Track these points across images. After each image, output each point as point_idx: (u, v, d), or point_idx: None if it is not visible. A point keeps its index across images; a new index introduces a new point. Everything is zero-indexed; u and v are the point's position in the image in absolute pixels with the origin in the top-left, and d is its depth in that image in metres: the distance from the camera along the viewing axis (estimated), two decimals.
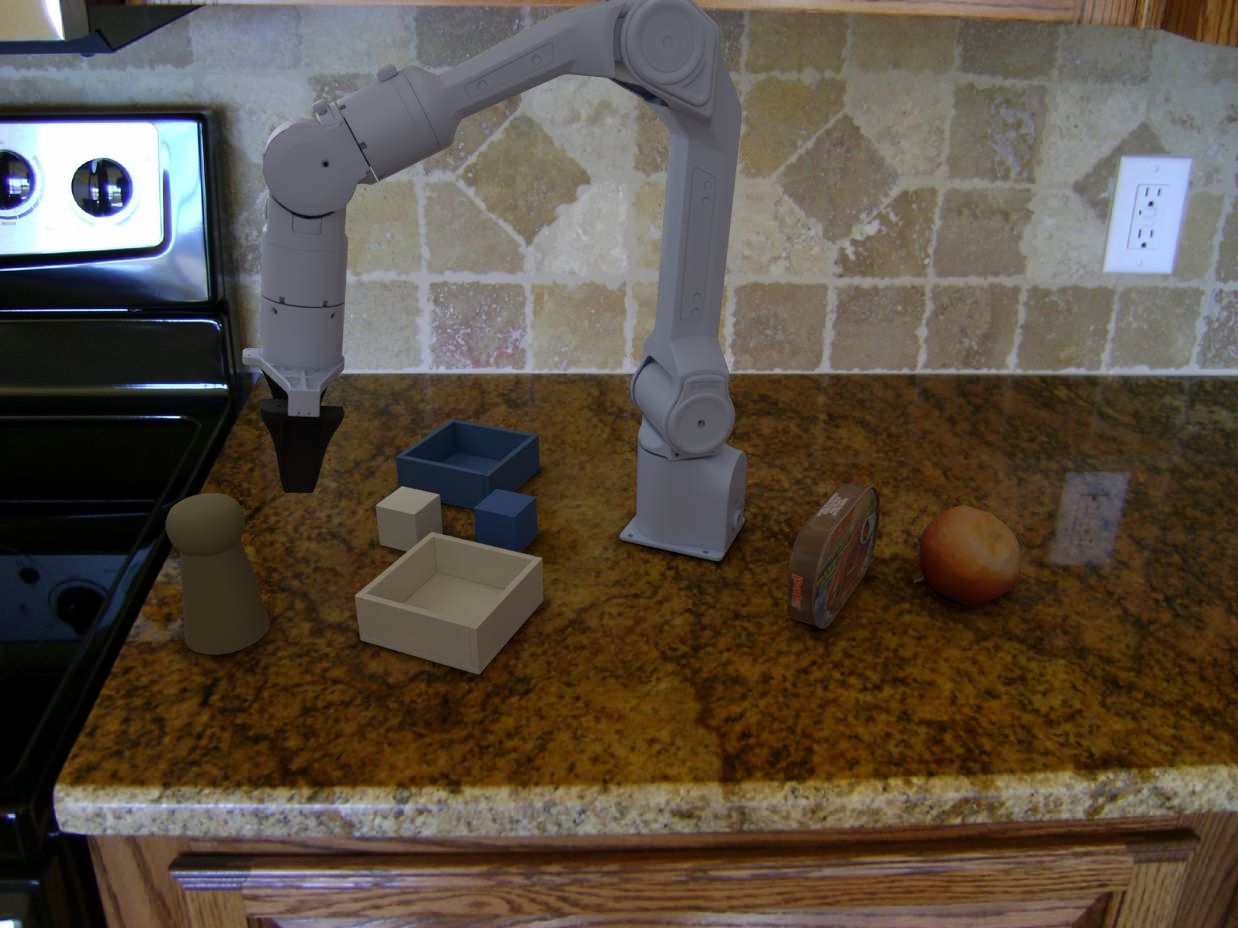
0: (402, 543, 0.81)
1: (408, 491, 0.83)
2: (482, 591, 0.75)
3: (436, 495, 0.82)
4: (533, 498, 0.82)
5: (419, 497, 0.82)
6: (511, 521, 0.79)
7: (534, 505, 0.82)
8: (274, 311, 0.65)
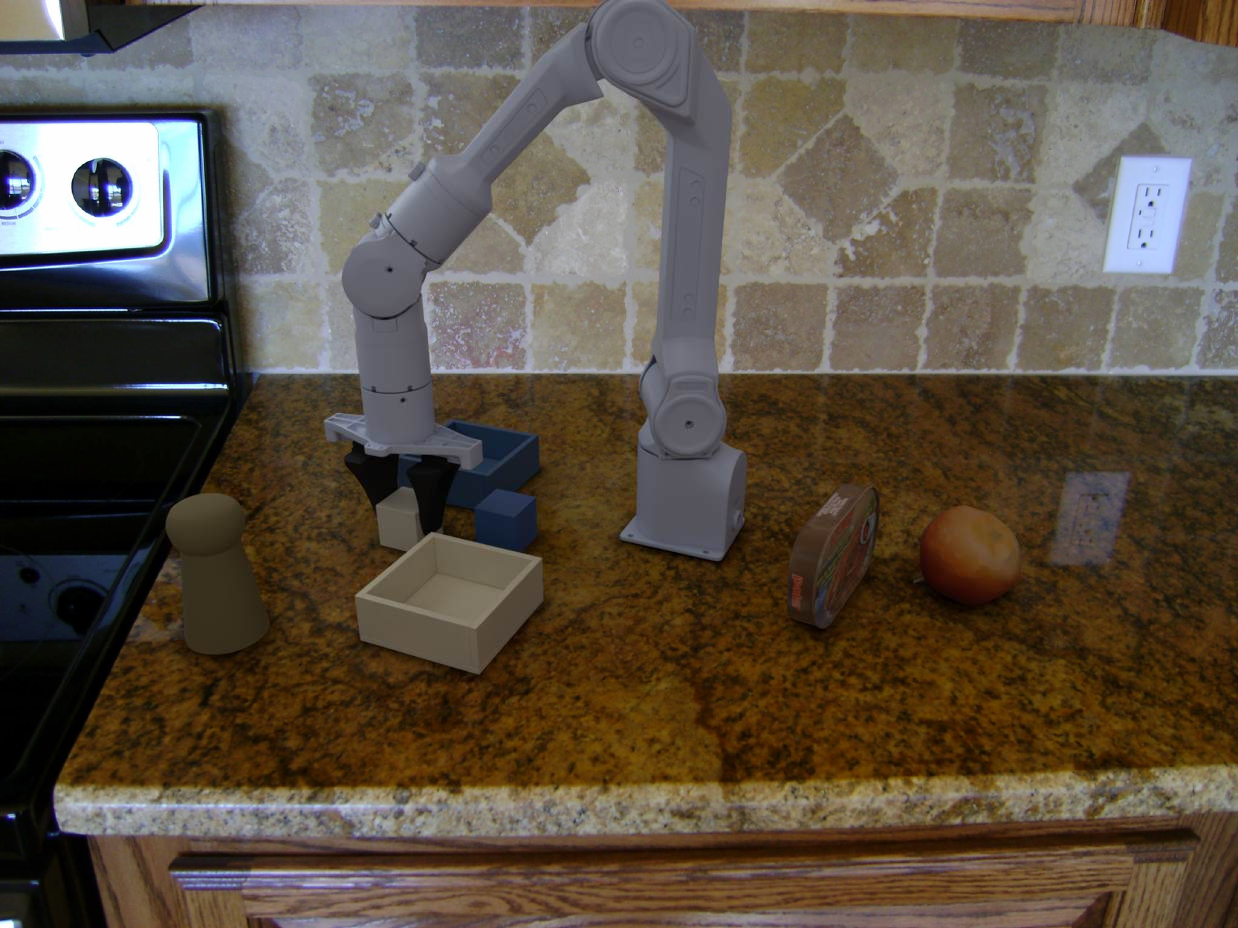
0: (402, 543, 0.81)
1: (408, 491, 0.83)
2: (482, 591, 0.75)
3: None
4: (533, 498, 0.82)
5: None
6: (511, 521, 0.79)
7: (534, 505, 0.82)
8: (401, 400, 0.75)
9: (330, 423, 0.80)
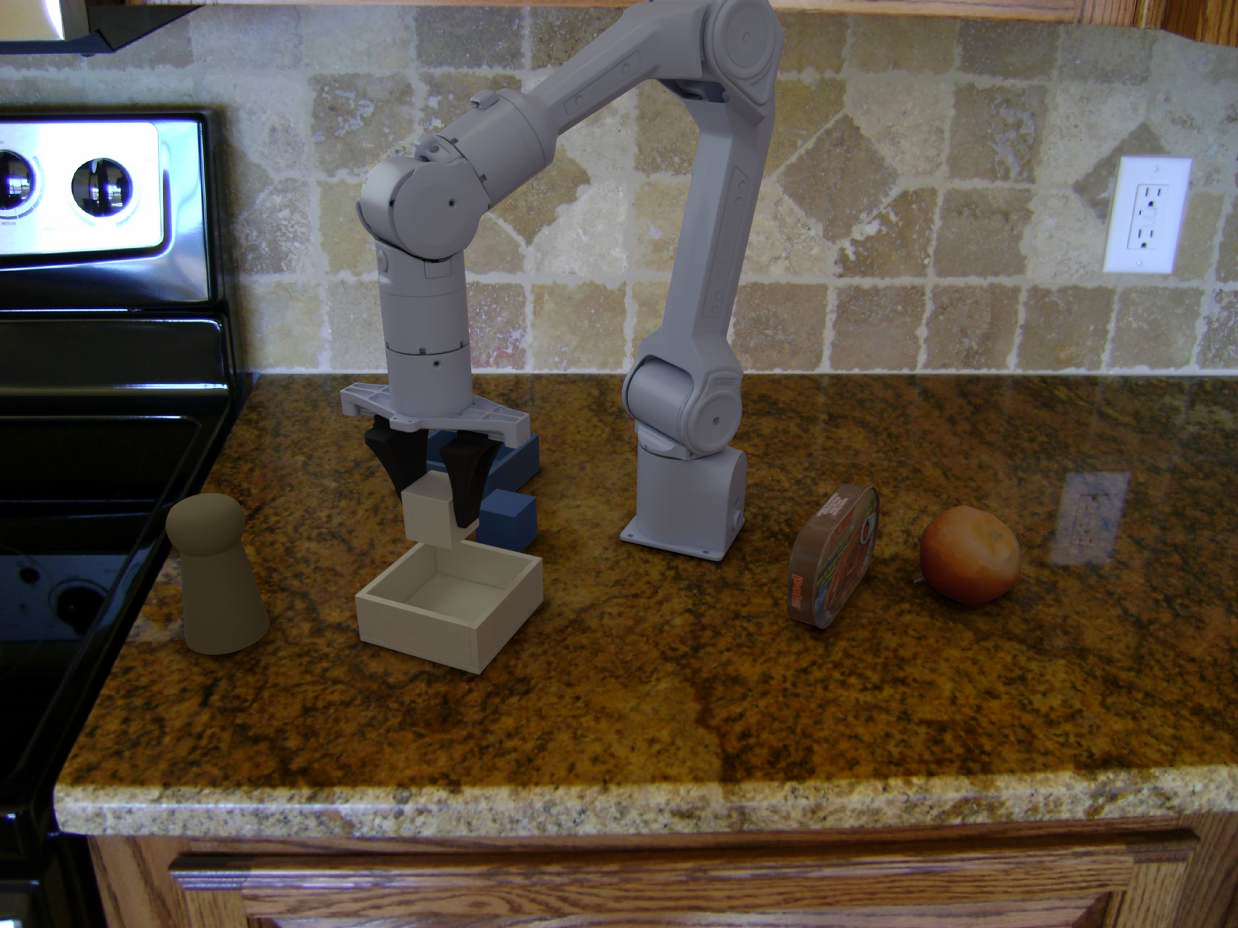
0: (432, 537, 0.68)
1: (438, 475, 0.70)
2: (482, 591, 0.75)
3: None
4: (533, 498, 0.82)
5: None
6: (511, 521, 0.79)
7: (534, 505, 0.82)
8: (434, 364, 0.62)
9: (348, 394, 0.67)
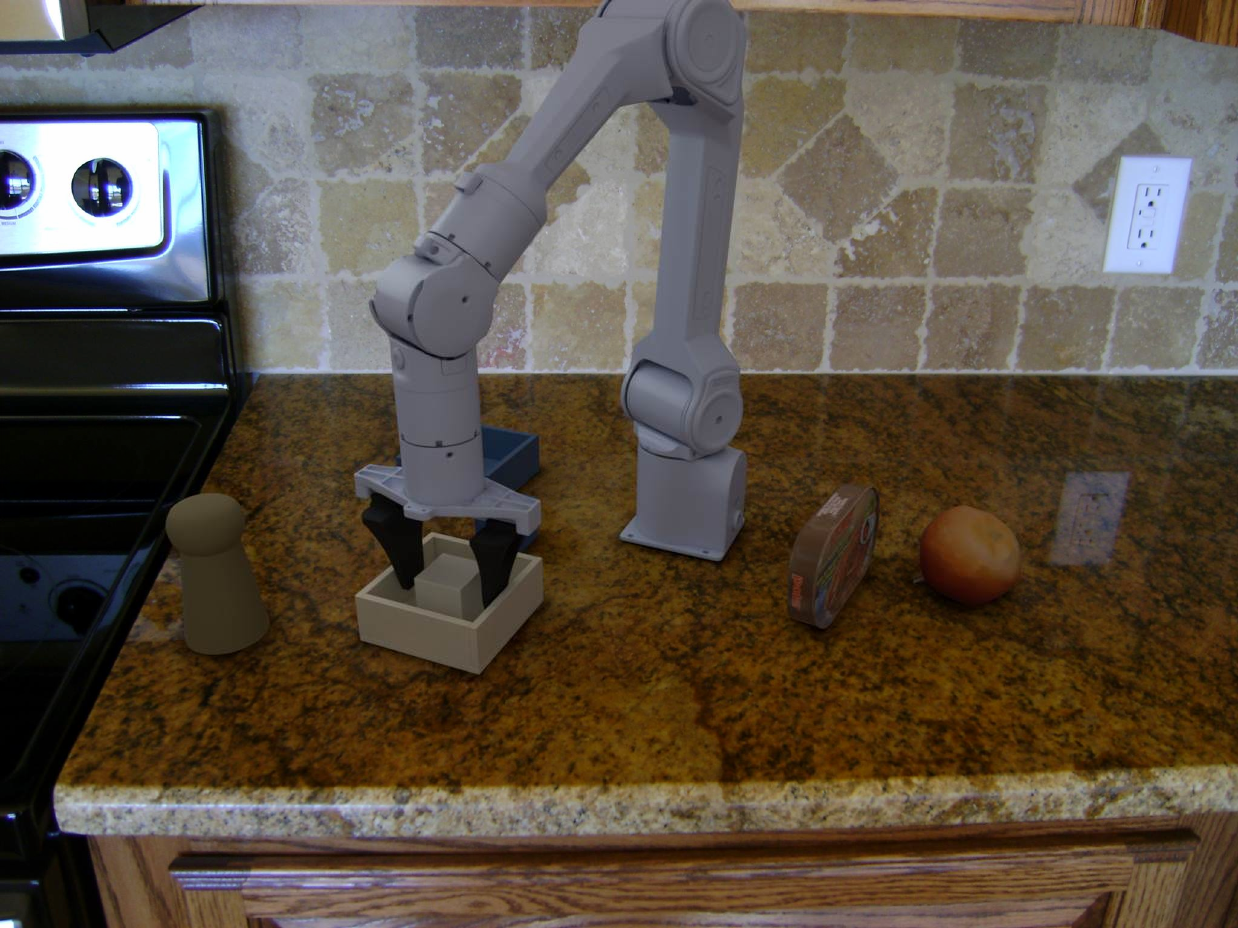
0: None
1: (450, 559, 0.72)
2: None
3: None
4: None
5: (464, 567, 0.71)
6: None
7: None
8: (447, 455, 0.63)
9: (361, 477, 0.69)
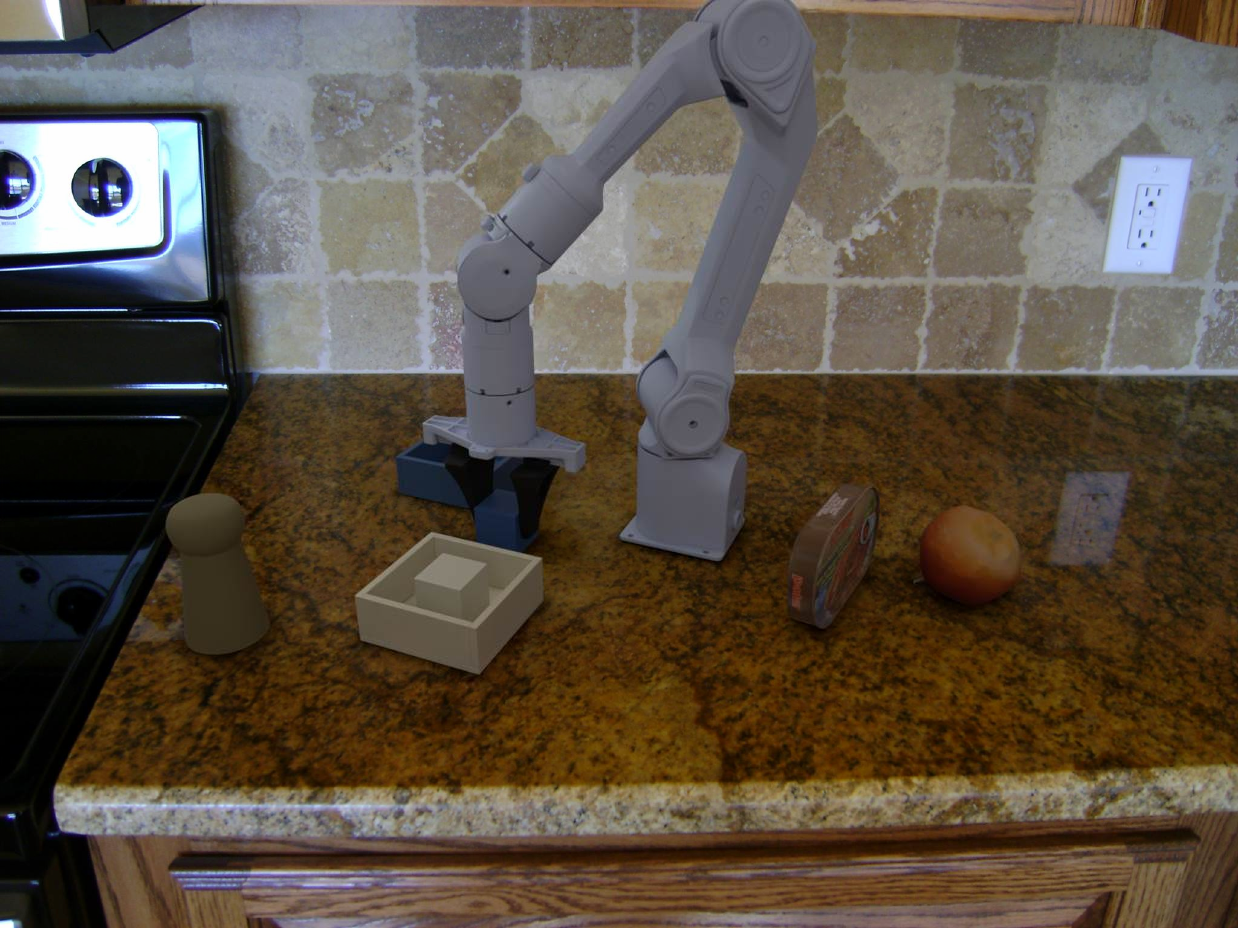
0: None
1: (450, 559, 0.72)
2: None
3: (483, 565, 0.71)
4: None
5: (464, 567, 0.71)
6: (511, 521, 0.79)
7: None
8: (507, 403, 0.74)
9: (429, 425, 0.80)
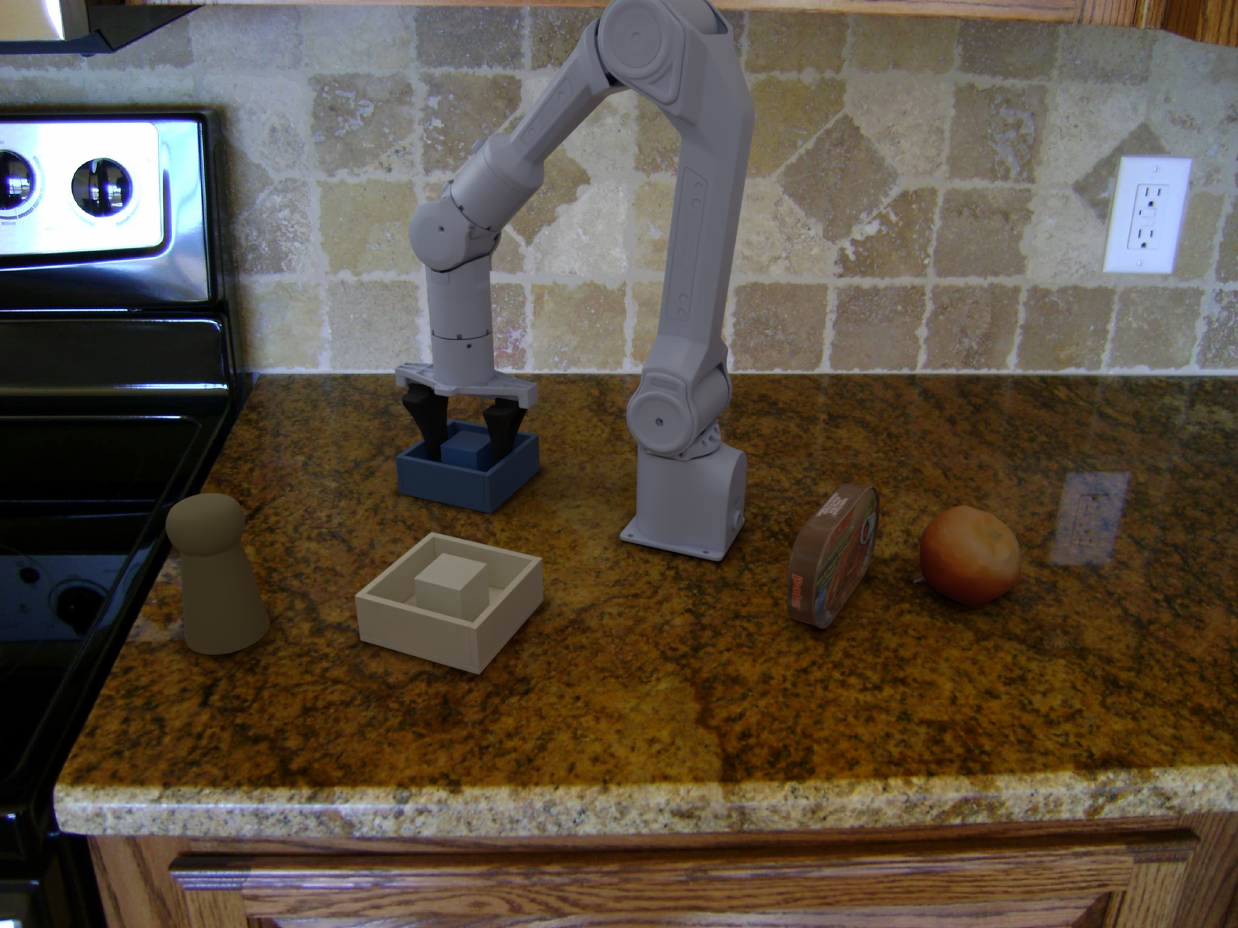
0: None
1: (450, 559, 0.72)
2: None
3: (483, 565, 0.71)
4: None
5: (464, 567, 0.71)
6: (473, 456, 0.89)
7: None
8: (467, 346, 0.85)
9: (401, 370, 0.90)
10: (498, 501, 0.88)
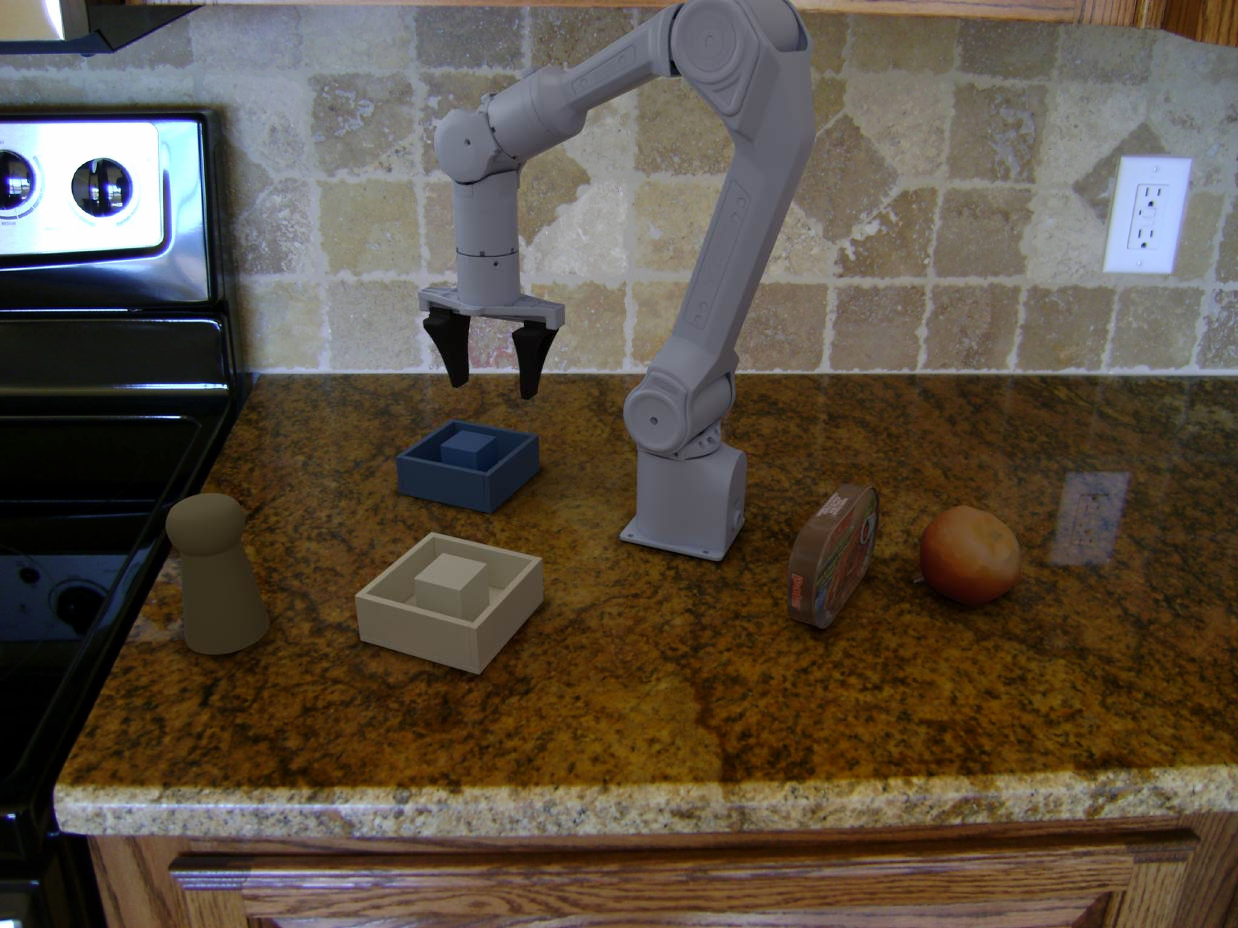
0: None
1: (450, 559, 0.72)
2: None
3: (483, 565, 0.71)
4: (494, 438, 0.92)
5: (464, 567, 0.71)
6: (473, 456, 0.89)
7: (494, 444, 0.92)
8: (493, 264, 0.82)
9: (424, 293, 0.88)
10: (498, 501, 0.88)
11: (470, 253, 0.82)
